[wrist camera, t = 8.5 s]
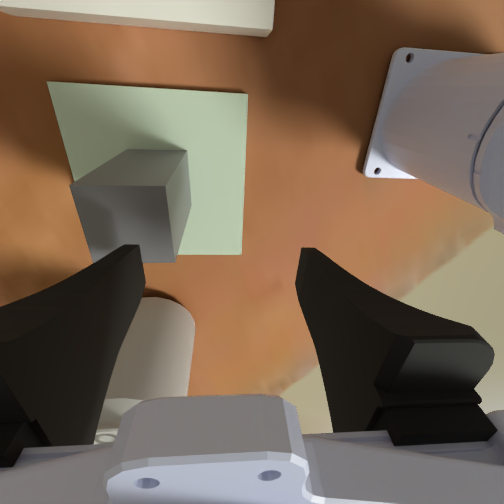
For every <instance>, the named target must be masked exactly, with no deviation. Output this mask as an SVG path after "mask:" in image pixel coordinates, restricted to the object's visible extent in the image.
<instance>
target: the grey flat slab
mask: <svg viewBox="0 0 504 504" xmlns="http://www.w3.org/2000/svg"><path fill="white" fill-rule="evenodd" d="M274 4H275V0H0V11H1V12H4V13H7V14H10V15H13V16H19V17H31V18H43V19H55V20H67V21H79V22H91V23H103V24H115V25H127V26H139V27H150V28H162V29H174V30H186V31H198V32H210V33H222V34H234V35H246V36H258V37H267V36H268V35H269V34H270V32H271V31H272V30H273V18H274Z"/></svg>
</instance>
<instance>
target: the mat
mask: <svg viewBox="0 0 504 504" xmlns="http://www.w3.org/2000/svg"><path fill="white" fill-rule="evenodd" d="M47 85H48V89H49V92H50V96H51V99H52V103H53V107H54V110H55V114H56V117H57V121H58V124H59V128H60V132H61V135H62V139H63V142H64V146H65V150H66V153H67V157H68V160H69V164H70V168H71V171H72V175H73V178H74V182H75V181H77V180H78V179H80V178H81V177H83V176H85V175H86V174H88V173H89V172H91V171H93V170H94V169H96V168H97V167H99V166H101V165H102V164H104V163H105V162H107V161H109V160H110V159H112V158H114V157H115V156H117V155H118V154H120V153H122V152H123V151H125V150H126V149H146V150H187V154H188V166H189V179H190V191H191V204H192V206H191V209H190V213H189V216H188V220H187V223H186V227H185V230H184V233H183V237H182V240H181V244H180V247H179V251H178V254H177V255H241V252H242V228H243V204H244V180H245V156H246V132H247V108H248V94H242V93H226V92H210V91H194V90H178V89H162V88H146V87H130V86H114V85H98V84H82V83H67V82H50V81H47Z"/></svg>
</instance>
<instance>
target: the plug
mask: <svg viewBox="0 0 504 504" xmlns="http://www.w3.org/2000/svg"><path fill="white" fill-rule="evenodd" d="M69 186H70V189H71V192H72V196H73V199H74V202H75V205H76V209H77V212H78V215H79V218H80V221H81V225H82V228H83V231H84V234H85V238H86V241H87V244H88V247H89V250H90V254H91V257H92V260H93V263H95V262H96V261H98V260H99V259H101V258H103V257H104V256H106V255H107V254H109V253H111V252H112V251H114V250H115V249H117V248H119V247H120V246H122V245H124V244H138V245H140V251H141V257H142V263H174V262H175V261H176V258H177V254H178V251H179V247H180V244H181V240H182V237H183V233H184V230H185V227H186V223H187V220H188V216H189V213H190V209H191V206H192V204H191V191H190V179H189V166H188V154H187V150H146V149H126V150H125V151H123V152H122V153H120V154H118V155H117V156H115V157H114V158H112V159H110V160H109V161H107V162H105V163H104V164H102V165H101V166H99V167H97V168H96V169H94V170H93V171H91V172H89V173H88V174H86V175H85V176H83V177H81V178H80V179H78V180H77V181H75V182H73V183H72V184H70V185H69Z"/></svg>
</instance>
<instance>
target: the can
mask: <svg viewBox="0 0 504 504" xmlns="http://www.w3.org/2000/svg"><path fill="white" fill-rule="evenodd" d="M194 336H195V321H194V319H193V317H192V316H191V314H190V312H189V311H187V310H186V309H185V308H184V307H183V306H182V305H180V304H178V303H176V302H174V301H171V300H169V299H164V298H159V297H143V298H142V299H141V302H140V304H139V307H138V309H137V311H136V314H135V316H134V318H133V321H132V323H131V325H130V327H129V330H128V332H127V334H126V336H125V339H124V341H123V343H122V346H121V348H120V351H119V353H118V356H117V360H116V363H115V366H114V369H113V372H112V376H111V379H110V383H109V386H108V390H107V393H106V397H105V400H104V404H103V408H102V412H101V416H100V419H99V423H98V427H97V431H96V436H95V440H94V444H93V445H95V444H114V441H115V438H116V435H117V432H118V429H119V426H120V423H121V420H122V416H123V413H125V412H126V411H128V410H129V409H130V408H132V407H133V406H135V405H136V404H138V403H139V402H141V401H145V400H150V399H155V398H160V397H180V396H187V392H188V384H189V376H190V368H191V360H192V352H193V344H194Z"/></svg>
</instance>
